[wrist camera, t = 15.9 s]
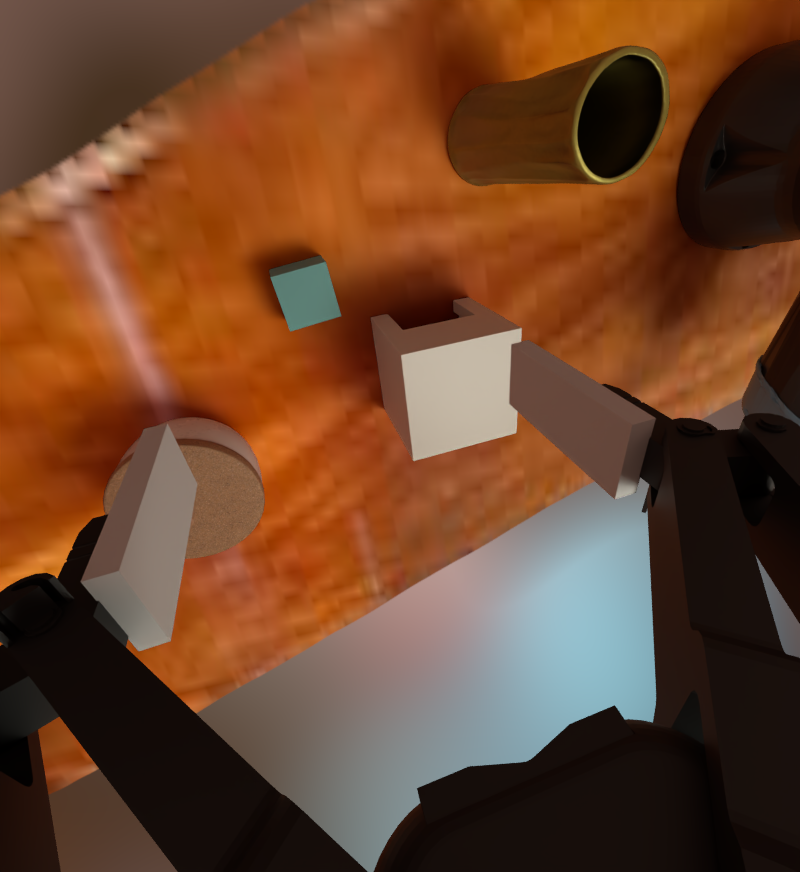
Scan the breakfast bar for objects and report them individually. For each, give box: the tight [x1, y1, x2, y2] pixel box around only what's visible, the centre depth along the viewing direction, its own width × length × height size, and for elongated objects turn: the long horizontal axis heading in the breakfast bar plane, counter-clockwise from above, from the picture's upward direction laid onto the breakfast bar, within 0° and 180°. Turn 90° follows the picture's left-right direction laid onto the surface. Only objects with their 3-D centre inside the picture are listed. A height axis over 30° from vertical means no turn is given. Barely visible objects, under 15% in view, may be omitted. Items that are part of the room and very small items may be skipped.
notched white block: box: [370, 297, 522, 461], centre depth 35 cm, size 9×9×9 cm
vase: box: [448, 46, 669, 186], centre depth 26 cm, size 6×6×14 cm
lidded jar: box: [103, 417, 265, 558], centre depth 34 cm, size 11×11×9 cm
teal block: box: [269, 255, 341, 331], centre depth 32 cm, size 4×4×3 cm
